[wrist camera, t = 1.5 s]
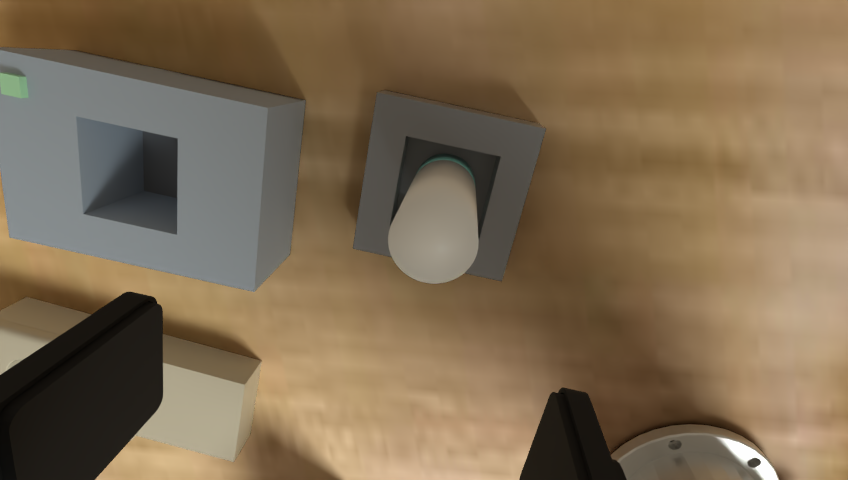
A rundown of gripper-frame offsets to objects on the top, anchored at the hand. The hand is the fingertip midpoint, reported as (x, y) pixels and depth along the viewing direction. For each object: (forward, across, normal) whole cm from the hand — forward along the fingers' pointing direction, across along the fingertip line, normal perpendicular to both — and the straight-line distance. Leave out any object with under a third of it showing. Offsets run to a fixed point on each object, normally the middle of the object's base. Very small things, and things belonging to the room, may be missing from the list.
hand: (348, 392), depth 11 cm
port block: (+19, +15, +1) cm, 24 cm away
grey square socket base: (+19, -1, -1) cm, 19 cm away
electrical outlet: (+19, +18, +18) cm, 32 cm away
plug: (+18, -1, -1) cm, 18 cm away
